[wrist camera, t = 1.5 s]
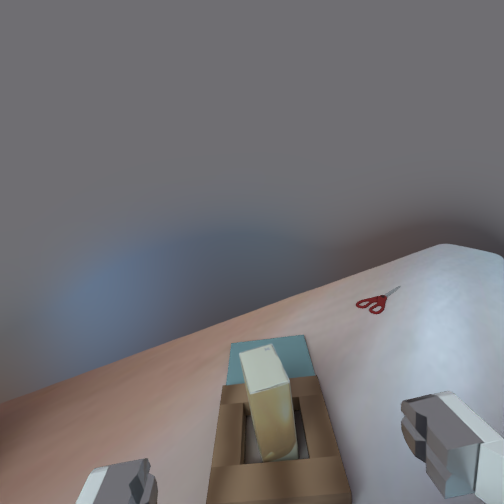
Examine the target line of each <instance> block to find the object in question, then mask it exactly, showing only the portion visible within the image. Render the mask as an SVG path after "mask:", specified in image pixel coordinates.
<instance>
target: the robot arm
mask: <svg viewBox="0 0 504 504" xmlns="http://www.w3.org/2000/svg"><path fill="white" fill-rule="evenodd" d="M401 411H402V412H403V413H404V415H405V416H404V418H403V419H402V421H401V429H402V432H403V435H404V438H405V441H406V443H407V444H408V446H409V448H410V450H411V451H412V452H413V454H414V455H415V457H417V458H418V459H420V460H422V461H423V462H425V463H426V473H427V474H428V476H429V477H430V478H431V480H432V481H433V483H434V484H435V486H436V487H437V488H438V490H439V491H440V493H441V494H442V496H443V497H444V498H445V499H447V498H452V497H457V496H462V495H467V494H472V493H475V495H476V496H477V497H478V498H480V499H481V500H482V501H484V502H485V503H486V504H504V438H502V437H501V436H500V435H499V434H498V433H497V432H496V431H495V430H494V429H492V428H491V427H490V426H489V425H488V424H487V423H486V422H485V421H484V420H483V419H481V418H480V417H479V416H478V415H477V414H476V413H475V412H474V411H473V410H471V409H470V408H469V407H468V406H467V405H466V404H465V403H464V402H463V401H462V400H460V399H459V398H458V397H457V396H456V395H455V394H454V393H452V392H450V391H445V392H440V393H436V394H429V395H425V396H421V397H417V398H413V399H408V400H404V401H403V402H402V403H401ZM150 467H151V465H150V463H149V461H148V458H145V459H140V460H134V461H129V462H124V463H118V464H113V465H108V466H103V467H99V468H95V469H94V470H93V471H92V472H91V473H90V475H89V476H88V478H87V480H86V483H85V485H84V487H83V489H82V491H81V493H80V495H79V497H78V499H77V501H76V504H157V496H158V489H157V482H156V479H155V476H153V475H151V474H150V473H149V470H150Z"/></svg>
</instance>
